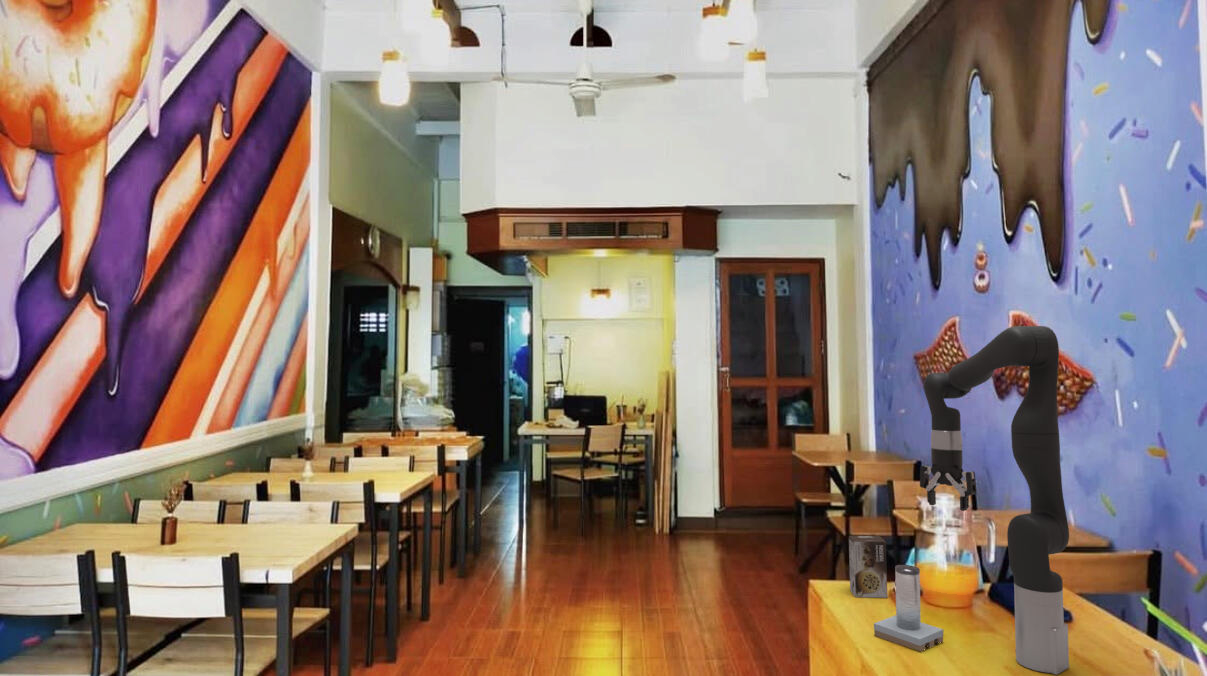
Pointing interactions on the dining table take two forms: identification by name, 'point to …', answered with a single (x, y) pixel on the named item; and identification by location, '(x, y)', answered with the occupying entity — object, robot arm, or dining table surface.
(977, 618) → the dining table surface
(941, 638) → the block
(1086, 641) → the dining table surface
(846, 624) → the dining table surface
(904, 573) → the canister
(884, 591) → the coffee box
